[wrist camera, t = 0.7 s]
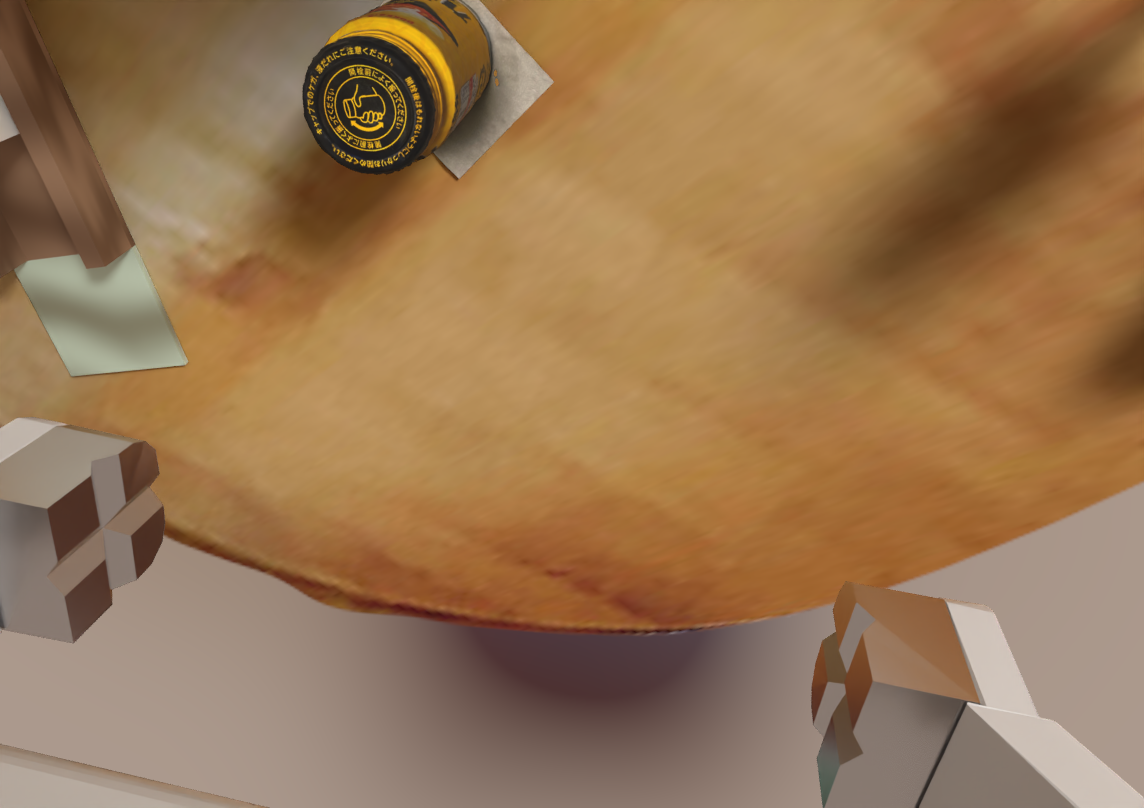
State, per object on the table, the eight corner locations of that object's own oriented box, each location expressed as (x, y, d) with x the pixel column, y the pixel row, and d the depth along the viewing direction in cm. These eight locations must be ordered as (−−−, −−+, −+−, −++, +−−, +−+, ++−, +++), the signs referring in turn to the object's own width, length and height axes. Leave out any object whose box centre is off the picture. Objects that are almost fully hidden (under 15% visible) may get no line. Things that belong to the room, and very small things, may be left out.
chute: (-178, -98, 42) (-235, -95, 39) (-34, -129, 41) (-84, -128, 38) (74, 373, 56) (45, 399, 53) (188, 362, 55) (163, 387, 52)
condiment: (429, -55, 41) (349, -27, 31) (554, 81, 43) (519, 148, 33) (338, 57, 44) (239, 115, 34) (460, 177, 47) (402, 265, 36)
